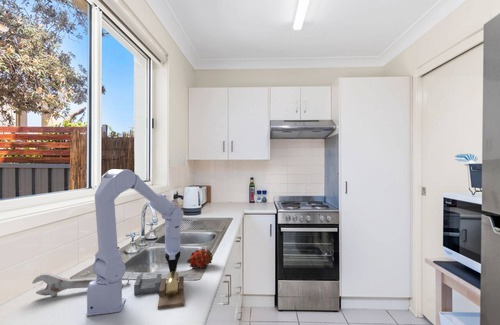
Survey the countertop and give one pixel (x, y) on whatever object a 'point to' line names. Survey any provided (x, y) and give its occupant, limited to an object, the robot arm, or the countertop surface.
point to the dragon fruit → (200, 258)
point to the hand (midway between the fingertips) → (172, 272)
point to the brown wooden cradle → (171, 301)
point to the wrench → (62, 283)
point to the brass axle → (172, 284)
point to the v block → (147, 285)
